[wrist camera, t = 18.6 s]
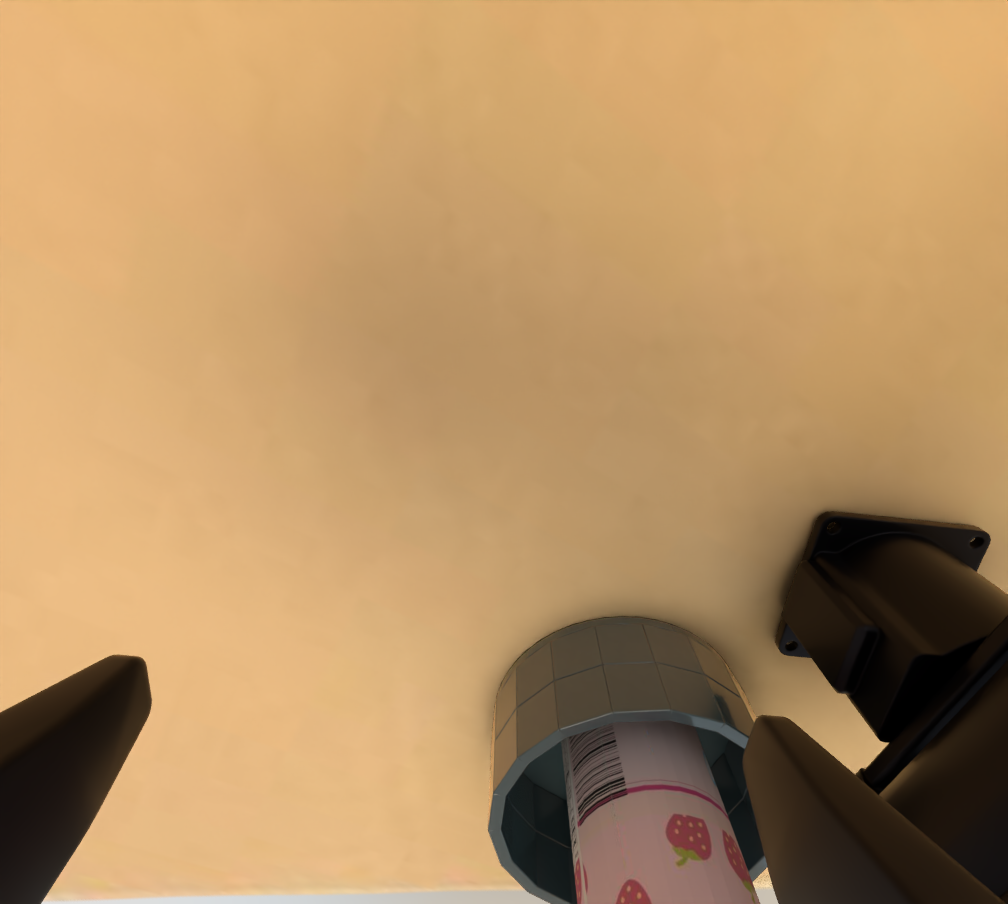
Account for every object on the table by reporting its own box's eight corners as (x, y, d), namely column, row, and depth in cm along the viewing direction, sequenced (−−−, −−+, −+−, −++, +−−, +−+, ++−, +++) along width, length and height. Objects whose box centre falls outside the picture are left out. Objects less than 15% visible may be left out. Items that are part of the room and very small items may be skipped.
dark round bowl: (769, 628, 23) (834, 725, 19) (706, 814, 27) (746, 933, 23) (507, 602, 23) (506, 694, 18) (482, 793, 27) (476, 909, 22)
